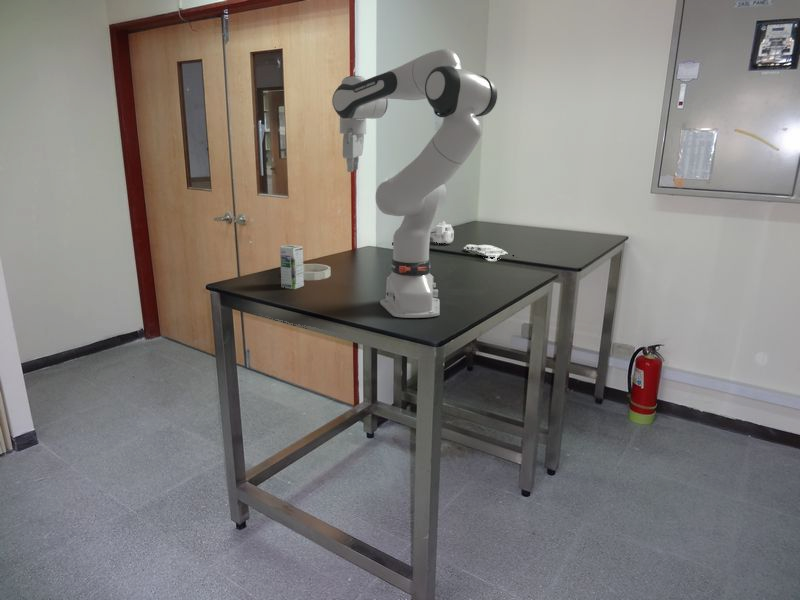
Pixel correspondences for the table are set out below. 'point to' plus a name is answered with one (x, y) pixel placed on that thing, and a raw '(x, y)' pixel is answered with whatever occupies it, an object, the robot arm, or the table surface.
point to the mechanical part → (443, 233)
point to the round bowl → (316, 271)
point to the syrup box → (291, 266)
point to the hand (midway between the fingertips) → (352, 170)
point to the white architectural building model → (487, 251)
